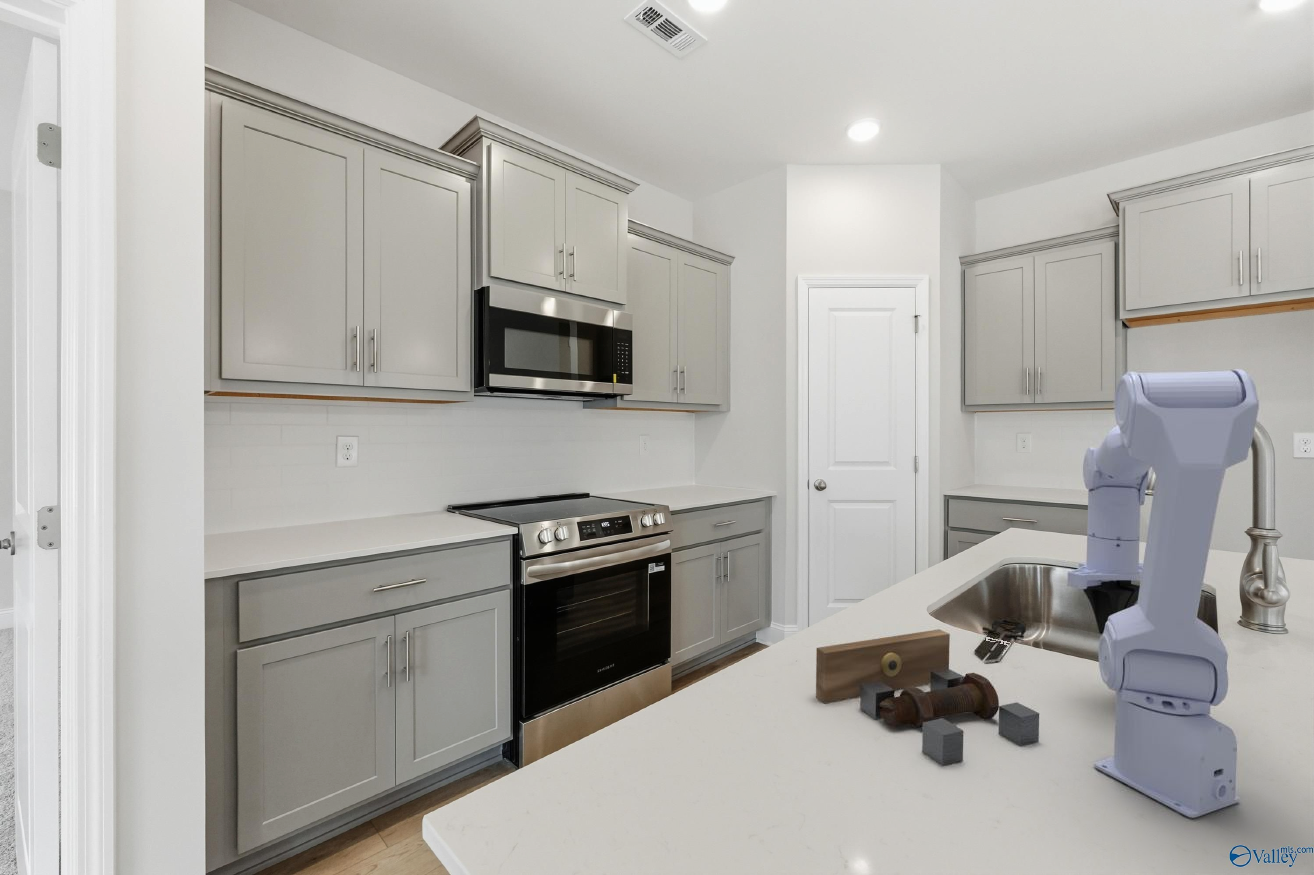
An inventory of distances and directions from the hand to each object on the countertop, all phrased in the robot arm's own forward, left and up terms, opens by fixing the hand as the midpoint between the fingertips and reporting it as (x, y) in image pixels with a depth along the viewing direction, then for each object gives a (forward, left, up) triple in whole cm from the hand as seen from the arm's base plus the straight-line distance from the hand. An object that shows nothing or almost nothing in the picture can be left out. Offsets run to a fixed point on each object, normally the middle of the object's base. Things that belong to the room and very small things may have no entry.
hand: (1110, 635), depth 83 cm
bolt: (+5, +26, -10) cm, 28 cm away
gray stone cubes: (+3, +26, -9) cm, 28 cm away
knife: (+22, -6, -10) cm, 25 cm away
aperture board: (+14, +26, -9) cm, 31 cm away
